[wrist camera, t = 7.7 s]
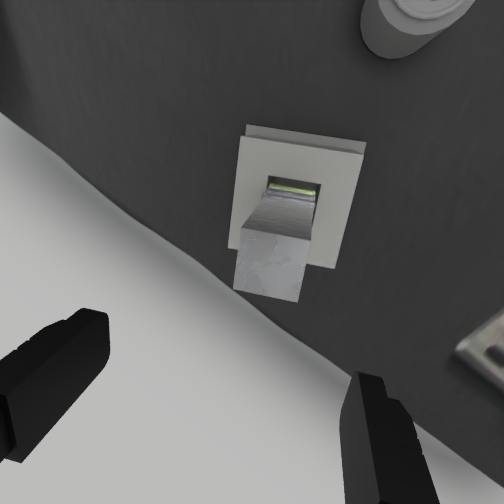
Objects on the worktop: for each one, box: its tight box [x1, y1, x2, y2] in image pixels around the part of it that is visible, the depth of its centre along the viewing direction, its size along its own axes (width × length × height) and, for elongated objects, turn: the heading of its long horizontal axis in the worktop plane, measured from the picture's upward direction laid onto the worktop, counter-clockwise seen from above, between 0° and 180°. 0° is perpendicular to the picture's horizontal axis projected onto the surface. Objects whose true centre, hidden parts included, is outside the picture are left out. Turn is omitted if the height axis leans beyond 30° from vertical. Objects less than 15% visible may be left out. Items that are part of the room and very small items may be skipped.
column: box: [233, 183, 315, 302], centre depth 26 cm, size 4×4×16 cm
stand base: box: [228, 124, 367, 269], centre depth 36 cm, size 14×14×9 cm
